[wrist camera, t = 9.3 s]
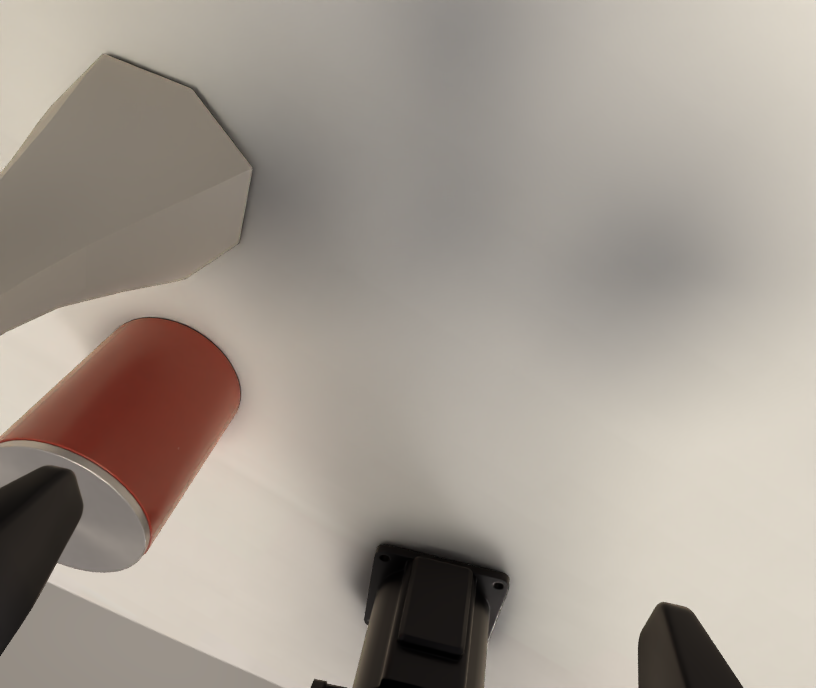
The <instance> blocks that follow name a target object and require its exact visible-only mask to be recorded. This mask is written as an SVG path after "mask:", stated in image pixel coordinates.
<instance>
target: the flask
mask: <svg viewBox="0 0 816 688" xmlns="http://www.w3.org/2000/svg"><path fill="white" fill-rule="evenodd" d="M252 169H253V168H252V166H251V165H250V164H249V163H248V161H247V160H246V159H245V157H244V156H243V155H242V153H241V152H240V151H239V150H238V148H237V147H236V146H235V144H234V143H233V142H232V140H231V139H230V138H229V137H228V135H227V134H226V133H225V131H224V130H223V129H222V127H221V126H220V125H219V123H218V122H217V121H216V120H215V118H214V117H213V116H212V114H211V113H210V112H209V110H208V109H207V108H206V107H205V105H204V104H203V103H202V101H201V100H200V99H199V97H198V96H197V95H196V93H195V92H194V91H193V90H192V89H191V88H189V87H186V86H184V85H181V84H179V83H176V82H174V81H171V80H169V79H166V78H164V77H161V76H159V75H156V74H154V73H151V72H149V71H146V70H143V69H141V68H138V67H136V66H133V65H131V64H128V63H126V62H123V61H121V60H118V59H116V58H113V57H111V56H108V55H106V54H102V55H101V56H100V57H99V58H98V59H97V60H96V61H95V62H94V63H93V64H92V65H91V66H90V67H89V68H88V69H87V70H86V71H85V72H84V73H83V74H82V75H81V76H80V77H79V78H78V79H77V80H76V81H75V82H74V83H73V84H72V86H71V87H70V88H69V89H68V90H67V91H66V92H65V93H64V94H63V95H62V96H61V97H60V98H59V99H58V100H57V101H56V102H55V103H54V104H53V105H52V106H51V107H50V108H49V109H48V111H47V112H46V113H45V114H44V116H43V117H42V118H41V119H40V121H39V122H38V123H37V125H36V126H35V128H34V129H33V130H32V132H31V133H30V135H29V136H28V137H27V139H26V140H25V142H24V143H23V144H22V146H21V147H20V149H19V150H18V151H17V153H16V154H15V156H14V157H13V158H12V160H11V161H10V162H9V163H8V165H7V166H6V167H5V168H4V169H3V171H2V172H1V173H0V336H1V335H2V334H4V333H5V332H7V331H9V330H11V329H14V328H16V327H18V326H20V325H22V324H24V323H27V322H29V321H31V320H33V319H35V318H37V317H40V316H42V315H44V314H46V313H48V312H50V311H53V310H55V309H57V308H60V307H64V306H68V305H72V304H76V303H80V302H84V301H88V300H92V299H96V298H100V297H104V296H108V295H112V294H116V293H120V292H124V291H129V290H135V289H140V288H145V287H150V286H156V285H161V284H166V283H171V282H175V281H179V280H183V279H186V278H188V277H189V276H191V275H192V274H194V273H195V272H197V271H198V270H200V269H201V268H203V267H204V266H206V265H207V264H209V263H210V262H212V261H213V260H215V259H216V258H218V257H219V256H221V255H222V254H224V253H225V252H227V251H228V250H230V249H231V248H233V247H234V246H236V245H237V244H239V241H240V235H241V230H242V224H243V219H244V213H245V208H246V202H247V197H248V191H249V186H250V180H251V175H252Z"/></svg>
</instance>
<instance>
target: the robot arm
mask: <svg viewBox="0 0 816 688" xmlns="http://www.w3.org/2000/svg"><path fill="white" fill-rule="evenodd" d="M83 509H84V503H83V499H82V496H81V492H80V489H79V485H78V482H77V478H76V475H75V473H74V472H73V471H72V470H70V469H67V468H63V467H58V466H54V465H45V466H42V467H39V468H37V469H35V470H33V471H31V472H30V473H28V474H26V475H24V476H22V477H20V478H18V479H16V480H14V481H12V482H10V483H8V484H7V485H5V486H3V487H1V488H0V656H1V654H2V653H3V651H4V650H5V648H6V647H7V645H8V644H9V642H10V641H11V639H12V638H13V636H14V635H15V633H16V632H17V630H18V629H19V628H20V626H21V624H22V623H23V621H24V620H25V618H26V616H27V615H28V614H29V612H30V611H31V609H32V607H33V605H34V604H35V602H36V600H37V599H38V597H39V595H40V593H41V592H42V590H43V588H44V586H45V584H46V582H47V580H48V579H49V577H50V575H51V573H52V571H53V569H54V567H55V566H56V564H57V562H58V560H59V558H60V556H61V554H62V553H63V551H64V549H65V547H66V545H67V543H68V542H69V540H70V538H71V536H72V534H73V532H74V530H75V529H76V527H77V525H78V523H79V521H80V519H81V517H82V514H83ZM508 590H509V577H508V576H507V575H506V574H505V573H502V572H498V571H494V570H490V569H486V568H482V567H477V566H473V565H469V564H465V563H461V562H457V561H453V560H448V559H444V558H440V557H436V556H432V555H428V554H424V553H419V552H415V551H411V550H407V549H403V548H399V547H395V546H390V545H384V544H383V545H380V546H378V547H377V549H376V553H375V557H374V563H373V569H372V575H371V581H370V587H369V593H368V599H367V606H366V612H365V618H364V621H365V623H366V624H367V625H368V628H367V632H366V636H365V640H364V644H363V648H362V652H361V656H360V660H359V664H358V668H357V672H356V676H355V680H354V684H353V688H484V680H485V667H486V654H487V644H488V641H489V639H490V636H491V633H492V631H493V628H494V626H495V623H496V621H497V618H498V615H499V613H500V610H501V608H502V605H503V602H504V600H505V597H506V595H507V592H508ZM638 684H639V688H743V686H742V685H741V683H740V682H739V680H738V679H737V677H736V676H735V674H734V673H733V671H732V670H731V668H730V667H729V665H728V664H727V662H726V661H725V659H724V658H723V656H722V655H721V653H720V652H719V650H718V649H717V647H716V646H715V644H714V643H713V641H712V640H711V638H710V637H709V635H708V634H707V632H706V631H705V629H704V628H703V626H702V625H701V623H700V622H699V620H698V619H697V617H696V616H695V614H694V613H693V612H692V611H691V610H690V609H689V608H687V607H684V606H680V605H675V604H671V603H666V602H661V603H659V604H658V605H657V606H656V607H655V609H654V610H653V612H652V614H651V616H650V617H649V619H648V621H647V622H646V624H645V626H644V627H643V629H642V631H641V633H640V637H639V642H638ZM311 688H346V687H341V686H336V685H331V684H327V681H323V680H318V679H314V681H313V683H312V686H311Z"/></svg>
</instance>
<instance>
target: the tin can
mask: <svg viewBox="0 0 816 688" xmlns="http://www.w3.org/2000/svg"><path fill="white" fill-rule="evenodd" d="M240 394H241V393H240V385H239V382H238V378H237V376H236V373H235V371H234V369H233V367H232V366H231V364H230V362H229V361H228V359H227V358H226V357H225V355H224V354H223V353H222V352H221V351H220V350H219V349H218V348H217V347H216V346H215V345H214V344H213V343H212V342H211V341H209V340H208V339H207V338H205V337H204V336H203V335H201V334H200V333H198V332H196V331H195V330H193V329H191V328H189V327H187V326H185V325H182V324H180V323H177V322H174V321H170V320H166V319H160V318H141V319H136V320H132V321H130V322H127V323H125V324H123V325H122V326H120V327H119V328H118V329H117V330H116V331H114V332H113V333H112V334H111V335H110V336H109V337H108V338H107V339H106V340H105V341H104V342H102V343H101V344H100V345H99V346H98V347H97V348H96V349H95V350H94V351H93V352H92V353H90V354H89V355H88V356H87V357H86V358H85V359H84V360H83V361H82V362H81V363H80V364H78V365H77V366H76V367H75V368H74V369H73V370H72V371H71V372H70V373H69V374H68V375H67V376H65V377H64V378H63V379H62V380H61V381H60V382H59V383H58V384H57V385H56V386H55V387H53V388H52V389H51V390H50V391H49V392H48V393H47V394H46V395H45V396H44V397H43V398H41V399H40V400H39V401H38V402H37V403H36V404H35V405H34V406H33V407H32V408H31V409H29V410H28V411H27V412H26V413H25V414H24V415H23V416H22V417H21V418H20V419H19V420H18V421H16V422H15V423H14V424H13V425H12V426H11V427H10V428H9V429H8V430H7V431H6V432H4V433H3V434H2V435H1V436H0V488H1V487H3V486H5V485H7V484H8V483H10V482H12V481H14V480H16V479H18V478H20V477H22V476H24V475H26V474H28V473H30V472H31V471H33V470H35V469H37V468H39V467H42V466H45V465H54V466H58V467H63V468H67V469H70V470H72V471H73V472H74V473H75V475H76V478H77V482H78V485H79V489H80V492H81V496H82V499H83V503H84V509H83V514H82V517H81V519H80V521H79V523H78V525H77V527H76V529H75V530H74V532H73V534H72V536H71V538H70V540H69V542H68V543H67V545H66V547H65V549H64V551H63V553H62V554H61V556H60V558H59V560H58V562H57V563H59V564H62V565H65V566H68V567H71V568H75V569H79V570H84V571H90V572H104V573H105V572H116V571H121V570H124V569H127V568H129V567H131V566H132V565H134V564H135V563H137V562H138V561H139V560H140V558H141V557H142V556H143V555H144V554H145V553H146V552H147V551H148V549H149V548H150V546H151V545H152V543H153V541H154V540H155V538H156V537H157V535H158V534H159V532H160V531H161V529H162V527H163V526H164V524H165V523H166V521H167V520H168V518H169V517H170V515H171V514H172V512H173V510H174V509H175V507H176V506H177V504H178V503H179V501H180V500H181V498H182V496H183V495H184V493H185V492H186V490H187V489H188V487H189V486H190V484H191V482H192V481H193V479H194V478H195V476H196V475H197V473H198V472H199V470H200V469H201V467H202V465H203V464H204V462H205V461H206V459H207V458H208V456H209V455H210V453H211V451H212V450H213V448H214V447H215V445H216V444H217V442H218V441H219V439H220V437H221V436H222V434H223V433H224V431H225V430H226V428H227V427H228V425H229V424H230V422H231V420H232V419H233V417H234V416H235V414H236V412H237V410H238V408H239V404H240Z"/></svg>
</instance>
